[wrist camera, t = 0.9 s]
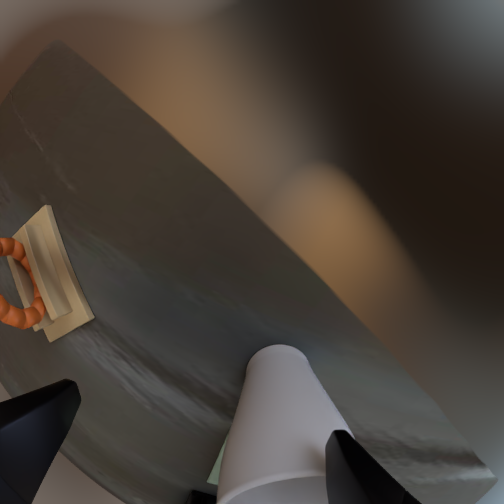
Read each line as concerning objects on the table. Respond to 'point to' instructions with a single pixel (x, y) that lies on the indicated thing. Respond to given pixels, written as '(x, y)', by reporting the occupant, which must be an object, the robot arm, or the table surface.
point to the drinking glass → (278, 433)
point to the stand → (49, 276)
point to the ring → (37, 309)
